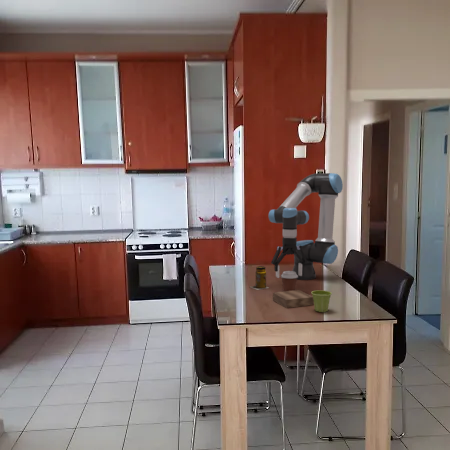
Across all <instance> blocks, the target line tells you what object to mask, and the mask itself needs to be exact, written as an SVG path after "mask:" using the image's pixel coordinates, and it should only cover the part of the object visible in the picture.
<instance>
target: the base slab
mask: <svg viewBox="0 0 450 450" xmlns="http://www.w3.org/2000/svg"><path fill="white" fill-rule="evenodd" d="M272 301H273V302H276V303H277V304H278V305H280V306H282V307H283V308H285V309H291V308H298V307H307V306H314V300H313V296H312V294H308V293H307V292H304V291H302V290H300V289H296V290H292V291H283V290H282V291H276V292H272Z"/></svg>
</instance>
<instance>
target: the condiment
mask: <svg viewBox="0 0 450 450" xmlns="http://www.w3.org/2000/svg"><path fill="white" fill-rule="evenodd" d="M250 288H251V289H254V290H257V291H259V290H263V289H264V290H265V289H269V288H270V287H268V286H267V271H266V266H264V265H257V266H256V270H255V285H254V286H250Z"/></svg>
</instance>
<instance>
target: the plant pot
mask: <svg viewBox="0 0 450 450" xmlns="http://www.w3.org/2000/svg"><path fill="white" fill-rule="evenodd" d="M331 295H332V292H331V291H328V290H322V289H321V290H318V289H317V290H313V291H311V296H313V300H314V305H313V306H314V311H315V312H318V313H326V312H328V311H329V307H330V306H329V305H330V300H331V299H330V298H331Z"/></svg>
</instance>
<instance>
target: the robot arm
mask: <svg viewBox="0 0 450 450" xmlns="http://www.w3.org/2000/svg"><path fill="white" fill-rule="evenodd" d="M342 190H343V180H342V177H341V176H340V174H338V173H334V172H330V173H328V172H327V173H325V172H324V173H323V172H322V173H321V172H320V173H316V172H315V173H312V174H309V175H307V176H306V177H304V178H302V179H301V181H299V182H298V183H297V184H296V188H295V189H294V190H293V191H292V193H290V195H289V196H287V198H285V200H284V201H283V203H281V205H279V207H277V209H275V208H274V209H270V210H269V212H268V220H269V222H271V223H273V224H274V223H275V224H282V238H281V239H282V246H277V247H276V251H275V254H274V256H273V258H272V260H271V262H270V264H271V265H273V266H274V272H275V277H276V278H278V279H279V278H280V264H281V262H282V260H284V258H285V256H290V255H293V260H294V262H293V267H292V270H291V271H294V272H296V274H297V275H298V278H297V280H301V281H308V280H314V279H316V278H317V274H316V271H315V270H316V269H315V266H314V263H318V264H324V265H325V264H329V265H332V264H333V263H335V262H336V260H337V258H338V253H339V247H338V246H337V245H336V243H335V242H336V241H335V240H334V239H333V238H334V237H333V234H334V223H335V208H336V199H337V198H338V197H339V194H341V193H342V192H343V191H342ZM312 193H313V194H314V193H318V196H319V198H320V201H319V202H320V203H319V204H320V206H319V217H318V229H317V231H318V233H317V238H316V239H315V240H313V239H304V240H298V239H297V236H298V231H297V230H298V226H299V225H300V226H301V225H305V224H307V223H308V221H309V220H310V215H309V213H308V212H307V211H306V210H298V209H297V208H298V206H299V205H300V204H301V203H302V202H303V201H304V199H305V198H306V197H308V196H310V195H311V194H312Z"/></svg>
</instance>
